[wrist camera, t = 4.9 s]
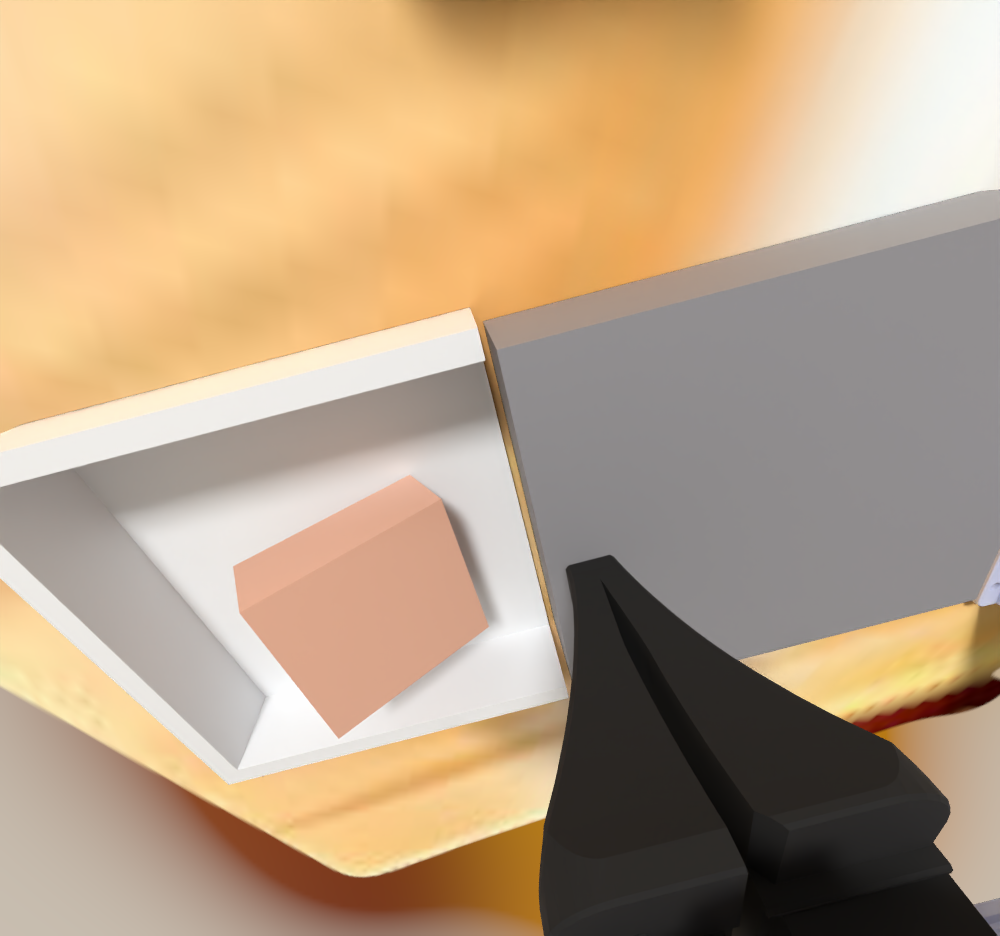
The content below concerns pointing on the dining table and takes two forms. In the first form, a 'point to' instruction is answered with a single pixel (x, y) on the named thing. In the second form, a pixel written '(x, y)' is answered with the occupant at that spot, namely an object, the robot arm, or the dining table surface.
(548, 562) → the board
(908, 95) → the dining table surface
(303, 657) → the terracotta tile
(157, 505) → the bin
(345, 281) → the dining table surface
